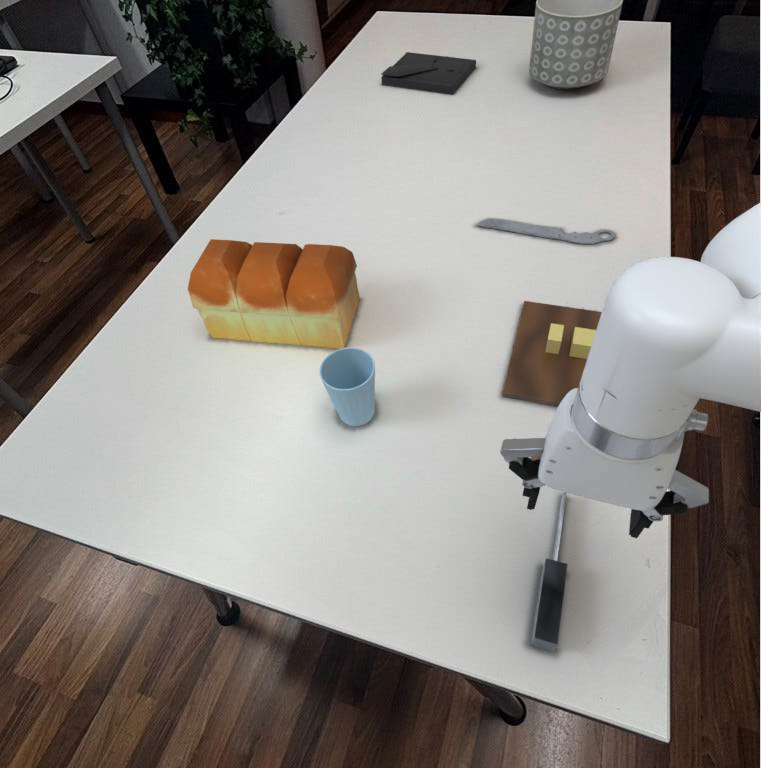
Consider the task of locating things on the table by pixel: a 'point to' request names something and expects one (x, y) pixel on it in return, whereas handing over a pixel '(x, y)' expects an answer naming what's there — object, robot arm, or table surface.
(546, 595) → the screwdriver
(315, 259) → the bread
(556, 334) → the butter pat
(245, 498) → the table surface
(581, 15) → the planter
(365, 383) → the cup
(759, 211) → the robot arm
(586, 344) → the butter
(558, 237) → the knife
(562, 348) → the butter board
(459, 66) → the picture frame
